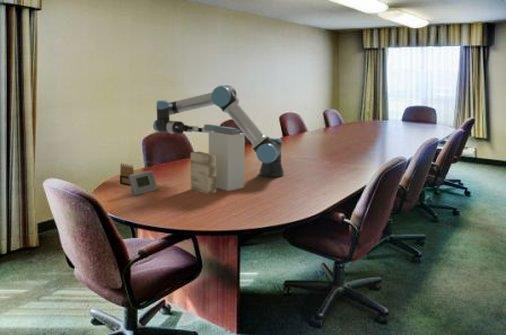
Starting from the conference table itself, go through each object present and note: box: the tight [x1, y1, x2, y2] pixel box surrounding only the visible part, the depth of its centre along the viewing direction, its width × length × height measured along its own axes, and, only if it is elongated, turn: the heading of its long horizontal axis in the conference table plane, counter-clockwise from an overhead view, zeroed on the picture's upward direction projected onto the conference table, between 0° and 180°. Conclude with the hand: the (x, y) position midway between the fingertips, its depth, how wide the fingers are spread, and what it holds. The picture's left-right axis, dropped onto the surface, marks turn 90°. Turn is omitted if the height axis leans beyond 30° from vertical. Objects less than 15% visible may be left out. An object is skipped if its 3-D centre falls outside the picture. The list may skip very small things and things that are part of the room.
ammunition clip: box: [119, 162, 135, 187], centre depth 252 cm, size 11×2×12 cm, turn 56°
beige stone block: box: [190, 151, 217, 195], centre depth 242 cm, size 6×14×20 cm, turn 44°
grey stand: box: [208, 128, 246, 192], centre depth 250 cm, size 12×16×32 cm
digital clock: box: [129, 170, 158, 197], centre depth 237 cm, size 16×9×11 cm, turn 134°
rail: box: [203, 124, 238, 132], centre depth 250 cm, size 3×24×3 cm, turn 44°
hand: (204, 129), depth 264 cm, fingers open, 13 cm apart
